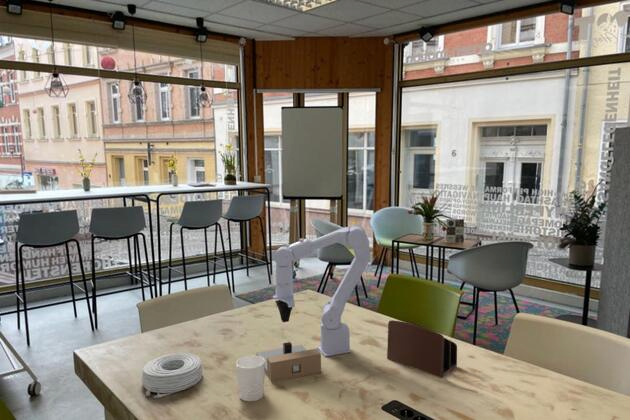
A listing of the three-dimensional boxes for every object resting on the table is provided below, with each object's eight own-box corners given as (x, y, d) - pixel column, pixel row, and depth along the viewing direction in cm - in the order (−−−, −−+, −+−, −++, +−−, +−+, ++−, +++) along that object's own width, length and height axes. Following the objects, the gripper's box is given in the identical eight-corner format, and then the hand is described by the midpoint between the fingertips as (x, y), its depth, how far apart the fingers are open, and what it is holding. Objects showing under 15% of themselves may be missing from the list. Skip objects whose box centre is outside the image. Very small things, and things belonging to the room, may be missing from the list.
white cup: (260, 404, 122) (259, 369, 121) (233, 401, 124) (231, 366, 122) (269, 389, 130) (268, 356, 128) (243, 386, 131) (242, 354, 130)
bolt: (282, 358, 145) (282, 342, 145) (289, 356, 146) (289, 341, 146) (292, 371, 136) (292, 355, 136) (299, 370, 137) (299, 353, 136)
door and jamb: (256, 356, 150) (256, 339, 150) (301, 348, 156) (301, 332, 155) (270, 382, 134) (270, 362, 133) (321, 372, 139) (320, 353, 139)
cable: (148, 403, 124) (147, 382, 123) (136, 377, 138) (135, 358, 138) (210, 385, 133) (209, 366, 132) (193, 362, 147) (192, 345, 147)
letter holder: (442, 379, 135) (443, 333, 133) (386, 359, 148) (386, 317, 146) (457, 367, 142) (458, 324, 140) (402, 349, 155) (403, 309, 154)
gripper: (266, 278, 157) (267, 316, 159) (279, 289, 144) (280, 330, 146) (286, 276, 160) (286, 313, 162) (300, 287, 147) (301, 327, 148)
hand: (285, 321), depth 154 cm, fingers closed
